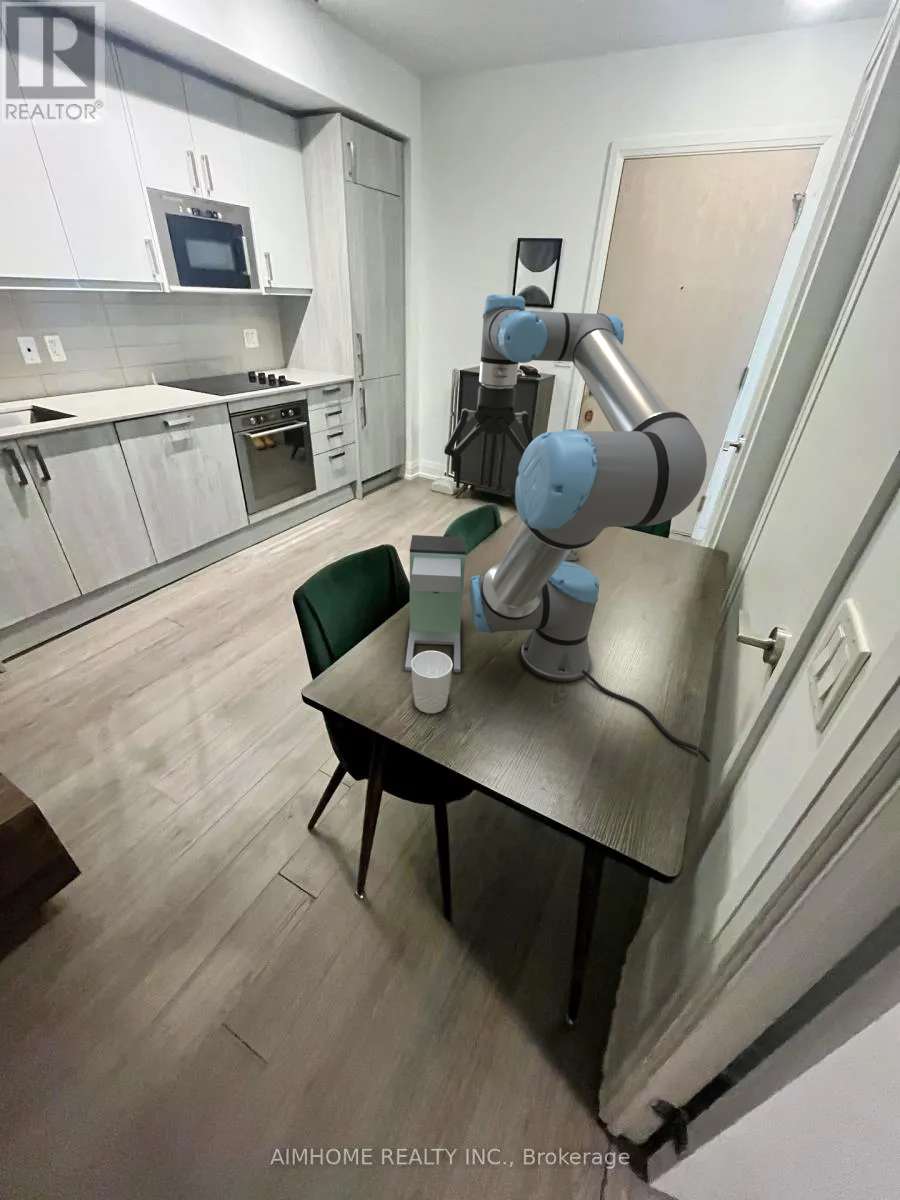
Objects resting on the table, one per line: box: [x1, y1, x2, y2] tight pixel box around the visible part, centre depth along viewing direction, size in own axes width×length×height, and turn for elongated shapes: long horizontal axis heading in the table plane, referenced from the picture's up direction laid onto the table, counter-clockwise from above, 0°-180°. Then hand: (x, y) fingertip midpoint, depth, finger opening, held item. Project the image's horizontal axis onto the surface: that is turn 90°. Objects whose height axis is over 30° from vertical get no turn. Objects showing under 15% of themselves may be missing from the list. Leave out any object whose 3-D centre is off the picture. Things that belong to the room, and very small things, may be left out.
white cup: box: [411, 650, 454, 714], centre depth 95 cm, size 8×8×10 cm
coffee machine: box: [404, 534, 467, 673], centre depth 107 cm, size 20×12×23 cm, turn 0°
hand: (488, 487), depth 109 cm, fingers open, 13 cm apart
